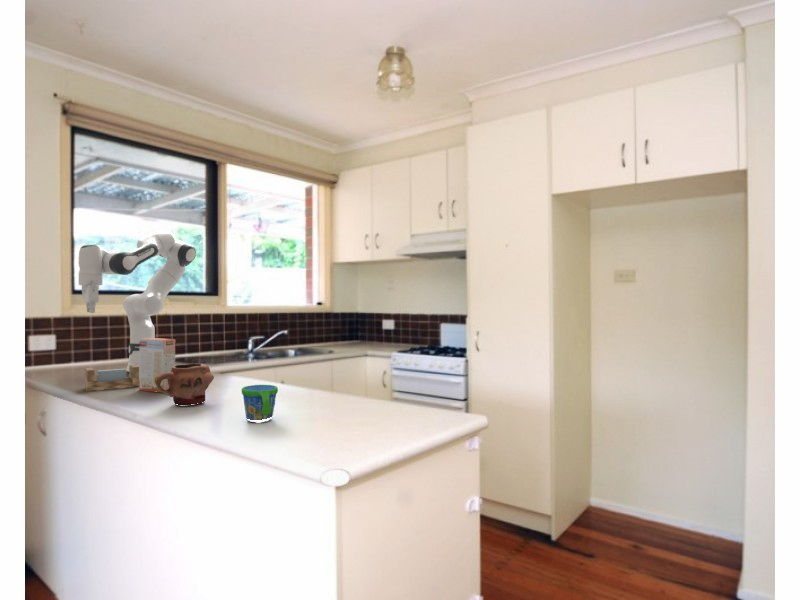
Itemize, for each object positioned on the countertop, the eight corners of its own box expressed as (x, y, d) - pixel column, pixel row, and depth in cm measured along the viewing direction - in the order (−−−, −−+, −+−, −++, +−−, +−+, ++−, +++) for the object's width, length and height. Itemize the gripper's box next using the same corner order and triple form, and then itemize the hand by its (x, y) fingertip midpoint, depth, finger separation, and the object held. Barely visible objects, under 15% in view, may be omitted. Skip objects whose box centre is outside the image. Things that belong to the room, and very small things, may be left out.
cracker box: (175, 391, 193) (176, 338, 193) (162, 393, 187) (163, 339, 187) (151, 388, 199) (152, 337, 199) (138, 390, 193) (138, 338, 193)
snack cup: (281, 425, 142) (282, 390, 142) (244, 429, 138) (244, 393, 138) (272, 413, 156) (273, 382, 156) (238, 416, 152) (239, 384, 152)
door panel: (125, 382, 203) (125, 368, 203) (126, 383, 201) (126, 369, 201) (97, 385, 197) (97, 370, 197) (98, 386, 195) (98, 371, 195)
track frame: (135, 383, 208) (135, 364, 208) (139, 386, 202) (139, 366, 202) (84, 388, 197) (85, 368, 197) (87, 391, 190) (87, 370, 190)
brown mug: (167, 412, 156) (168, 369, 156) (147, 407, 163) (147, 366, 163) (221, 402, 173) (221, 363, 173) (200, 398, 179) (201, 360, 179)
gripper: (102, 280, 206) (102, 313, 206) (95, 281, 222) (96, 311, 222) (84, 280, 202) (85, 313, 202) (79, 281, 218) (79, 312, 218)
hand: (90, 312), depth 212 cm, fingers open, 8 cm apart
